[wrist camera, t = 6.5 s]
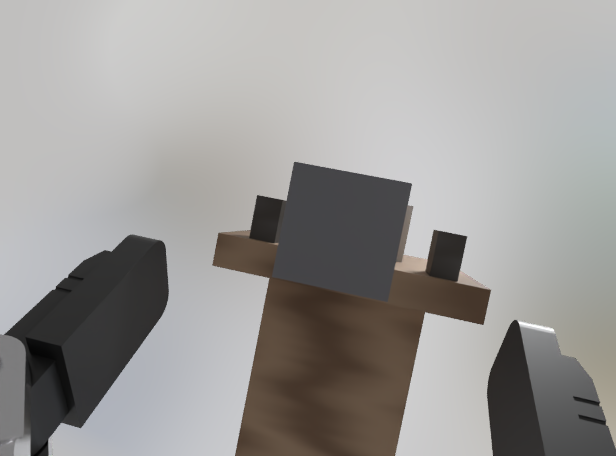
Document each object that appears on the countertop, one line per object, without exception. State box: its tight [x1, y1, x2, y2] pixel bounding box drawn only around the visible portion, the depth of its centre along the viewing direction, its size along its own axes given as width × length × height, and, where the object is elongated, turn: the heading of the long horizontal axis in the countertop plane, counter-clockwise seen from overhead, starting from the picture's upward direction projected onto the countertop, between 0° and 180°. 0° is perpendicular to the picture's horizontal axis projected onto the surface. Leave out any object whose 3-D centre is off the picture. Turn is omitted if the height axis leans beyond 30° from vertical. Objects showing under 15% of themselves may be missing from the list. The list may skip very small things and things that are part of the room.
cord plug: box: [272, 162, 413, 302], centre depth 22 cm, size 20×5×3 cm, turn 172°
